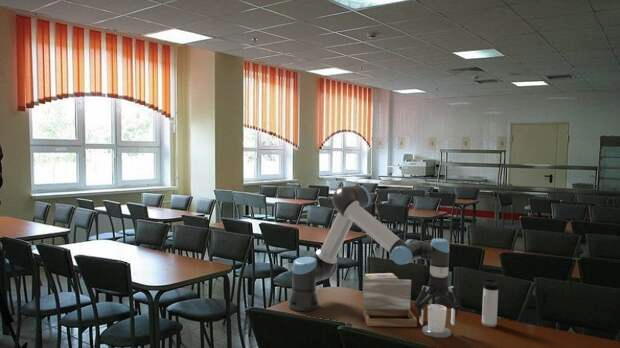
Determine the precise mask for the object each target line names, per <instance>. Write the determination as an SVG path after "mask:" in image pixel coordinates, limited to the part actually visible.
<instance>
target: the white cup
mask: <svg viewBox="0 0 620 348" xmlns="http://www.w3.org/2000/svg"><path fill="white" fill-rule="evenodd" d="M446 320H447V306H445V305H442V304H437V303H434V304H433V303H432V304H428V305H427V325H428V330H430V331H431V332H435V333H442V332H444V329H445V326H446Z"/></svg>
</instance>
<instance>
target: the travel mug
mask: <svg viewBox="0 0 620 348" xmlns="http://www.w3.org/2000/svg"><path fill="white" fill-rule="evenodd" d="M482 289H483V290H482V292H483V293H482V306H481V307H482V310H481V324H482V325H483V326H484V327H489V328H495V327H497V323H498V306H499V305H498V301H499V282H498V281H496V280H494V279H492V278H489V279H485V280H483V288H482Z"/></svg>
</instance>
